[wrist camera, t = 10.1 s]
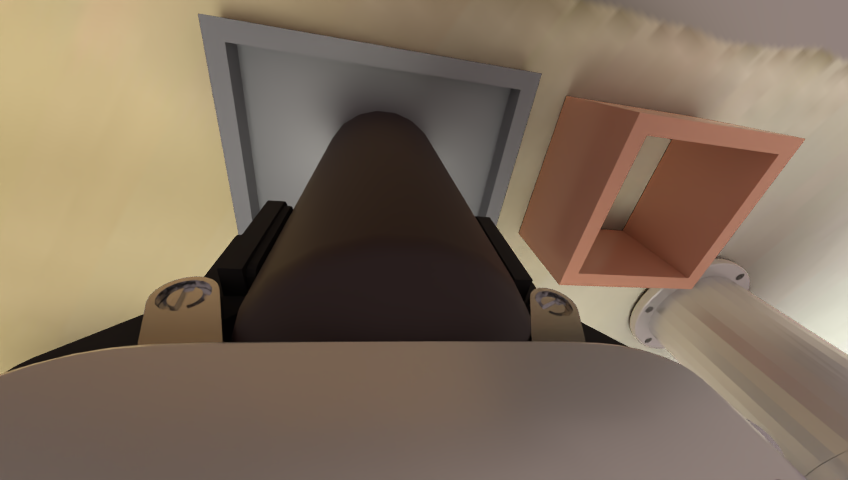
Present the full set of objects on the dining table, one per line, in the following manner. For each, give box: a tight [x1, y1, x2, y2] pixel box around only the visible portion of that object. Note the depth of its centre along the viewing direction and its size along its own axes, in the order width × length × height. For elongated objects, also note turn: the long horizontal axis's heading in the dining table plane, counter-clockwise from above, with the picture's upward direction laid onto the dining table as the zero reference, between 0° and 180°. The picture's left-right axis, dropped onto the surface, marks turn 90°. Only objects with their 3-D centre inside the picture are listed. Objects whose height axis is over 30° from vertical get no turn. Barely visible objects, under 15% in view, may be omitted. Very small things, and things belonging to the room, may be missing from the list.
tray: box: [198, 14, 542, 235], centre depth 20 cm, size 18×13×2 cm
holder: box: [519, 96, 805, 289], centre depth 22 cm, size 11×11×7 cm
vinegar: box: [230, 111, 531, 342], centre depth 11 cm, size 7×7×20 cm
